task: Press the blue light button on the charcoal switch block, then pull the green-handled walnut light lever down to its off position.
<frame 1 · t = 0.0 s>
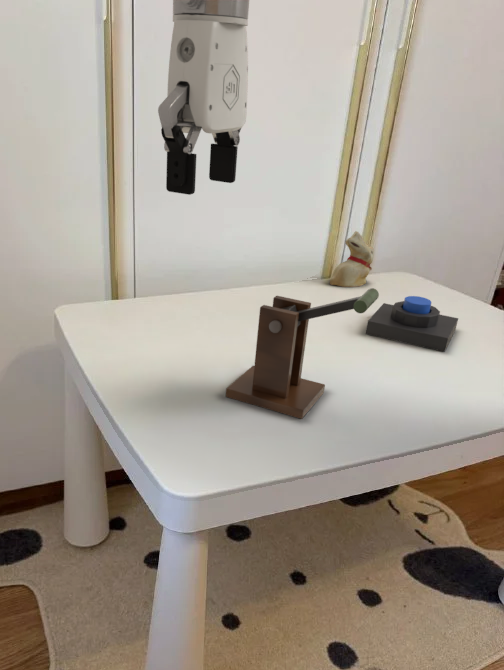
hand: (202, 186, 71), 24 cm above the table, tool pointing down, fingers open, 9 cm apart
blue button: (416, 305, 98), point 4 cm above the table, slide at 0.1 cm
chocolate bunny: (349, 284, 122), on the table
light lever: (320, 310, 71), point 12 cm above the table, hinge at 25.0°
lever bracket: (275, 394, 79), on the table
button block: (410, 332, 100), on the table
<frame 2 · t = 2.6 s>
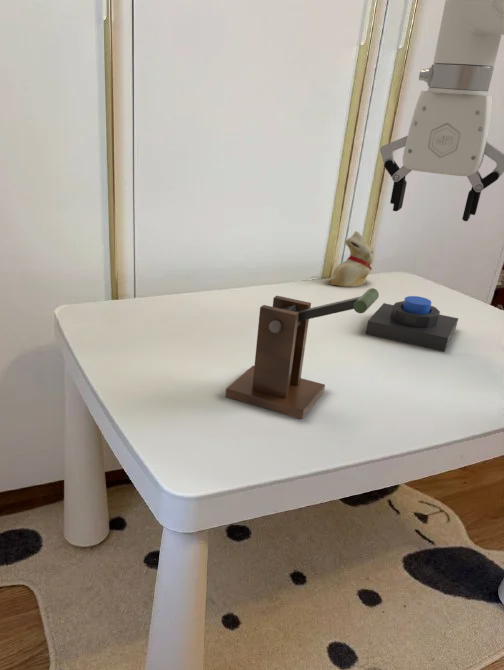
hand: (430, 214, 91), 18 cm above the table, tool pointing down, fingers open, 9 cm apart
nothing on the table moved.
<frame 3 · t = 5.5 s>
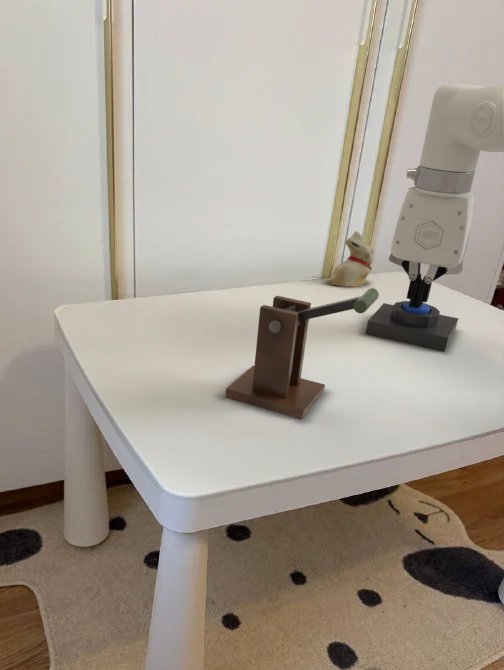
hand: (415, 304, 98), 5 cm above the table, tool pointing down, fingers closed
blue button: (415, 310, 98), point 4 cm above the table, slide at -0.7 cm, touching gripper
everything else where it was.
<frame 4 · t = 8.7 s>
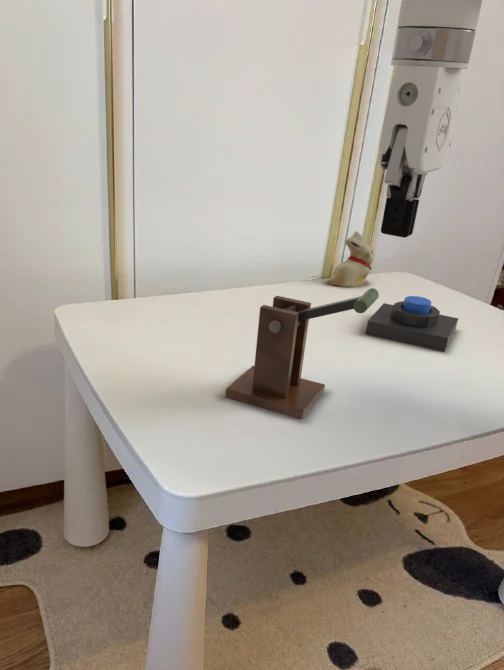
hand: (396, 234, 72), 20 cm above the table, tool pointing down, fingers closed
blue button: (416, 305, 98), point 4 cm above the table, slide at 0.1 cm
everything else where it was.
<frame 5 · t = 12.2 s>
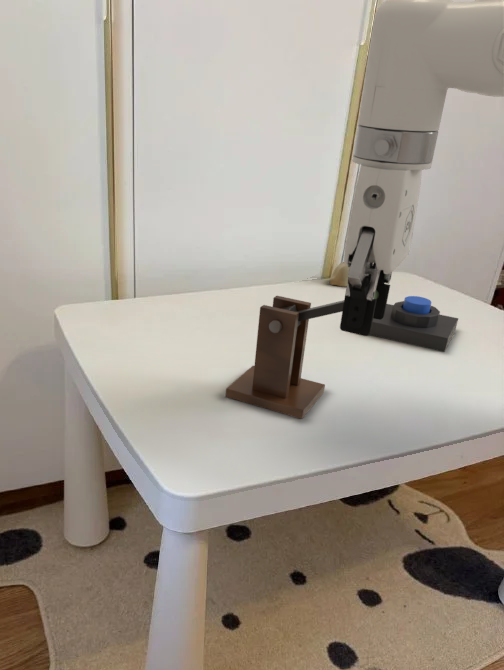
hand: (362, 322, 70), 12 cm above the table, tool pointing down, fingers closed on light lever, 5 cm apart
light lever: (320, 310, 71), point 12 cm above the table, hinge at 25.0°, touching gripper
everything else where it was.
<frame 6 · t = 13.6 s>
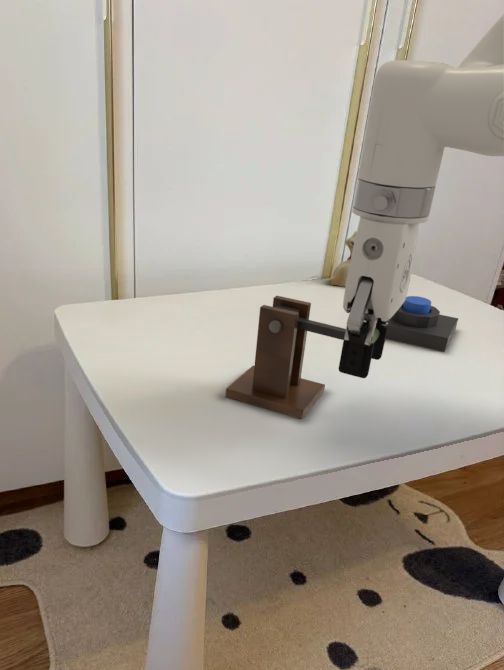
hand: (360, 363, 72), 7 cm above the table, tool pointing down, fingers closed on light lever, 5 cm apart
light lever: (322, 328, 72), point 10 cm above the table, hinge at -1.3°, touching gripper
everything else where it was.
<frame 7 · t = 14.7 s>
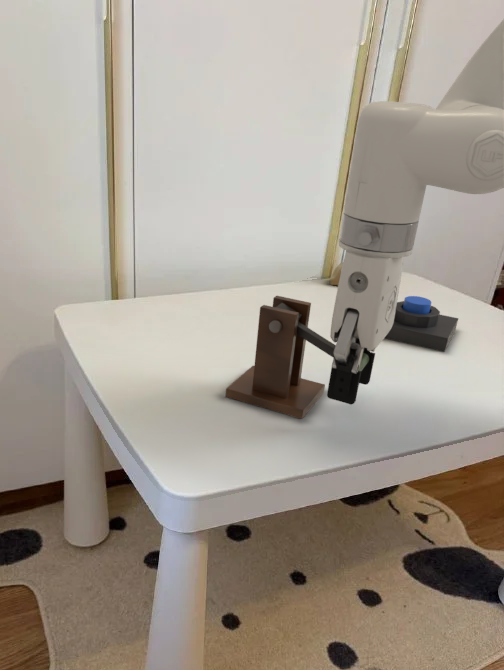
hand: (348, 389, 74), 3 cm above the table, tool pointing down, fingers open, 5 cm apart
light lever: (317, 340, 73), point 8 cm above the table, hinge at -20.6°
everything else where it was.
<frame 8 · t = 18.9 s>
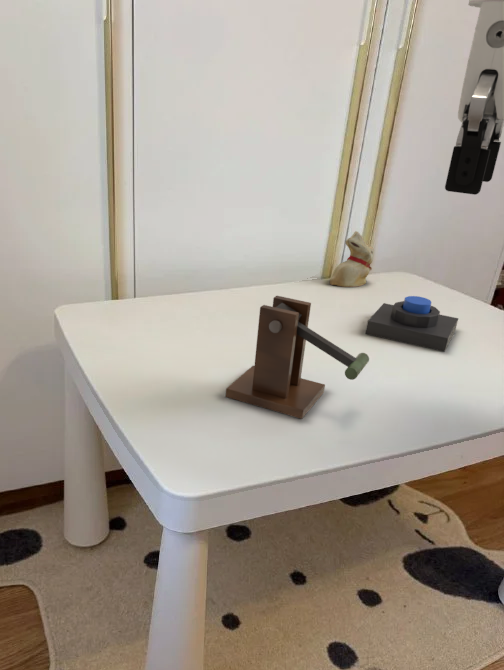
hand: (468, 185, 65), 26 cm above the table, tool pointing down, fingers open, 9 cm apart
nothing on the table moved.
at the end: blue button pushed in 1.1 cm at the most during the clip, back to where it started at the end; blue button slide at 0.1 cm; light lever at -21° (first picture: +25°) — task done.
